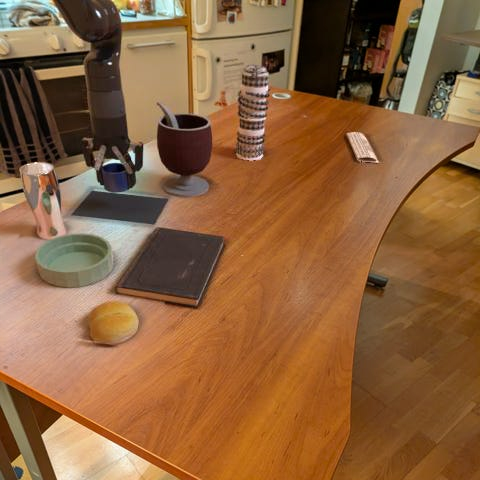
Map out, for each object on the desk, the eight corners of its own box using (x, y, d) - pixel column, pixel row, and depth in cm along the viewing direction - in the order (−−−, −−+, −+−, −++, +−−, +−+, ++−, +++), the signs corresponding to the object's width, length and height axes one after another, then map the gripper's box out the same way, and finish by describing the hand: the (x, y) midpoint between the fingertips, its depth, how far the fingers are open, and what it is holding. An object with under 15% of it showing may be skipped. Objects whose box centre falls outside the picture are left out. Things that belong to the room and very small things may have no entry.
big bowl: (26, 284, 87) (21, 267, 85) (58, 246, 98) (54, 229, 96) (98, 293, 86) (95, 276, 84) (123, 254, 97) (121, 237, 95)
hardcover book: (224, 245, 102) (225, 236, 100) (198, 308, 85) (198, 298, 83) (155, 235, 104) (154, 226, 102) (115, 295, 86) (114, 285, 85)
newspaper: (346, 136, 163) (347, 131, 162) (366, 138, 163) (367, 132, 162) (356, 161, 145) (358, 156, 144) (379, 163, 145) (380, 157, 144)
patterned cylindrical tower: (270, 156, 144) (279, 67, 128) (250, 163, 139) (257, 72, 123) (249, 148, 149) (254, 61, 133) (228, 154, 144) (232, 65, 128)
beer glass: (35, 228, 103) (17, 163, 94) (67, 224, 105) (54, 160, 96) (36, 244, 98) (18, 176, 89) (70, 239, 100) (56, 173, 91)
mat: (66, 220, 107) (66, 219, 106) (92, 191, 119) (92, 190, 119) (150, 230, 105) (150, 228, 105) (168, 200, 118) (168, 198, 117)
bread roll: (93, 351, 75) (89, 333, 72) (87, 317, 81) (83, 299, 78) (144, 341, 77) (142, 323, 75) (134, 308, 84) (131, 291, 81)
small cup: (100, 191, 106) (97, 171, 103) (109, 180, 111) (106, 161, 108) (126, 193, 106) (123, 174, 103) (134, 182, 111) (132, 164, 108)
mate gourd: (221, 186, 126) (224, 108, 113) (189, 203, 117) (188, 121, 104) (178, 171, 132) (175, 96, 119) (144, 186, 123) (137, 107, 110)
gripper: (145, 108, 100) (151, 182, 111) (81, 103, 101) (93, 176, 112) (135, 119, 94) (142, 195, 105) (67, 113, 95) (81, 189, 106)
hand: (117, 185), depth 108 cm, fingers closed on small cup, 6 cm apart
